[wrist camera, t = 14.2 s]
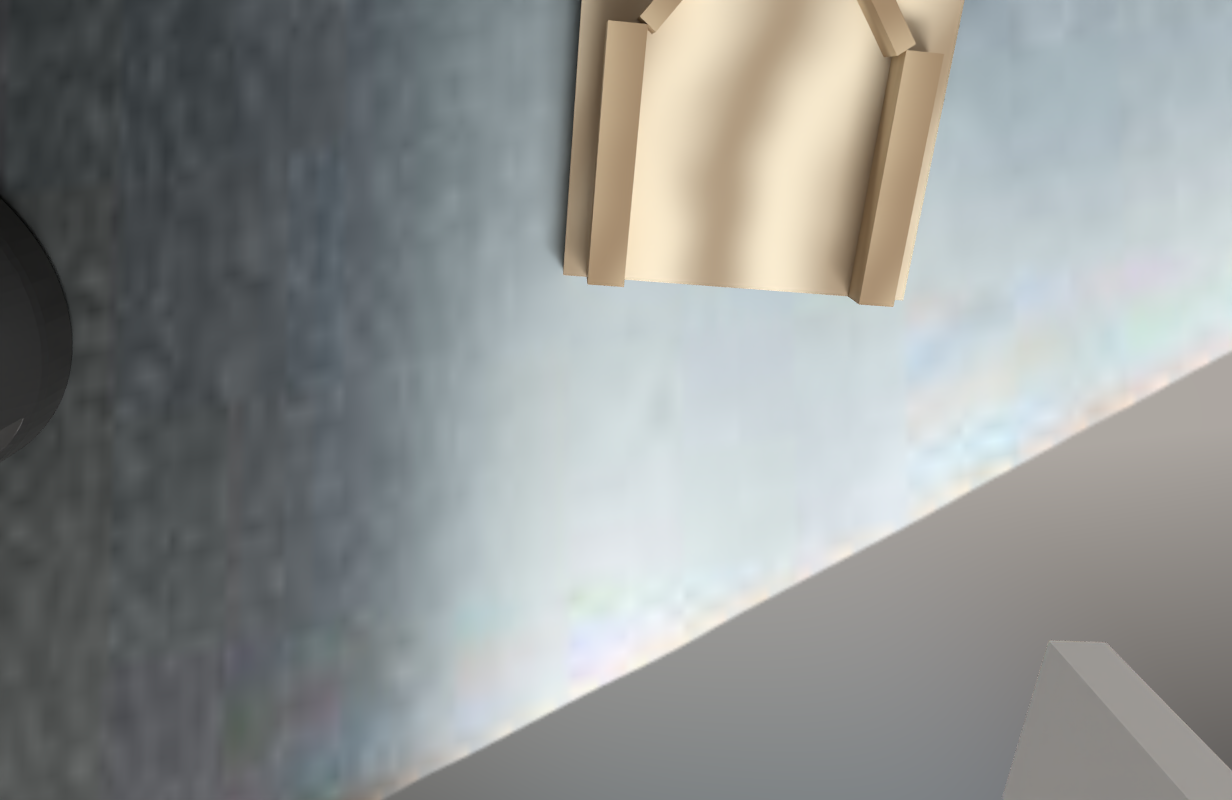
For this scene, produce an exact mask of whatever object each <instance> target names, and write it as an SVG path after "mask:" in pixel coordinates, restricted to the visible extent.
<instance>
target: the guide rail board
mask: <svg viewBox="0 0 1232 800" xmlns="http://www.w3.org/2000/svg"><path fill="white" fill-rule="evenodd" d="M963 4H964V0H581V15H580V30H579V45H578V60H577V74H576V89H575V104H574V119H573V134H572V149H571V163H570V178H569V193H568V208H567V223H566V238H565V252H564V267H563V275H571V276H584V277H587V283H588V284H591V285H604V286H618V287H624V280H638V281H651V282H665V283H678V284H691V285H705V286H718V287H731V288H745V289H758V290H772V291H785V292H798V293H812V294H825V295H838V296H848V297H850V298H851V299H852V300H854V301H855V302H856V303H858V304H861V305H875V306H888V307H893V306H894V301H895V300H903V298H904V293H905V288H906V283H907V278H908V273H909V268H910V263H911V259H912V254H913V249H914V244H915V239H916V234H917V229H918V224H919V219H920V215H921V210H922V205H923V200H924V195H925V190H926V185H927V180H928V175H929V171H930V166H931V161H932V156H933V151H934V146H935V141H936V136H937V132H938V127H939V122H940V117H941V112H942V107H943V102H944V97H945V92H946V88H947V83H948V78H949V73H950V68H951V63H952V58H953V53H954V48H955V44H956V39H957V34H958V29H959V24H960V19H961V14H962V9H963Z"/></svg>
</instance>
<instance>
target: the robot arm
mask: <svg viewBox="0 0 1232 800" xmlns="http://www.w3.org/2000/svg"><path fill="white" fill-rule="evenodd" d="M71 360H72V332H71V324H70V318H69V312H68V308H67V304H66V301H65V298H64V294H63V291H62V288H61V286H60V283H59V281H58V279H57V276H56V274H55V272H54V270H53V268H52V266H51V264H50V262H49V260H48V258H47V257H46V255H45V253H44V251H43V250H42V248H41V247H40V245H39V244H38V242H37V241H36V239H35V238H34V236H33V235H32V234H31V232H30V231H29V230H28V228H27V227H26V226H25V224H24V223H23V222H22V221H21V220H20V219H19V217H18V216H17V215H16V214H15V213H14V212H13V211H12V210H11V209H10V208H9V207H8V206H7V205H6V204H5V203H4V202H3V201H2V200H1V199H0V462H2V461H3V460H5V459H6V458H8V457H9V456H11V455H12V454H14V453H15V452H17V451H18V450H20V449H21V448H23V447H24V446H25V445H26V444H28V443H29V442H30V441H31V440H32V439H33V438H34V437H36V436H37V435H38V434H39V433H40V431H41V430H42V429H43V428H44V427H45V426H46V424H47V423H48V422H49V420H50V419H51V417H52V416H53V414H54V413H55V411H56V409H57V407H58V405H59V403H60V401H61V399H62V397H63V394H64V391H65V389H66V386H67V382H68V378H69V374H70V368H71ZM1002 800H1232V771H1231V770H1230V768H1229V767H1228V766H1226V765H1225V764H1224V762H1223V761H1222V760H1221V759H1220V758H1219V757H1218V756H1217V755H1215V753H1214V752H1213V751H1212V750H1211V749H1210V748H1209V747H1208V746H1207V745H1206V744H1205V743H1204V742H1203V741H1202V740H1201V739H1200V738H1199V737H1198V736H1197V735H1196V734H1195V733H1194V732H1193V731H1192V730H1191V729H1190V728H1189V727H1188V726H1187V725H1186V724H1185V723H1184V722H1183V721H1182V719H1181V718H1180V717H1178V715H1176V713H1175V712H1174V711H1173V710H1172V709H1171V708H1170V707H1169V706H1168V705H1167V704H1166V703H1165V702H1164V701H1163V700H1162V699H1161V698H1160V697H1159V696H1158V695H1157V694H1156V693H1155V692H1154V691H1153V690H1152V689H1151V688H1150V687H1149V686H1148V685H1147V684H1146V683H1145V682H1144V681H1143V680H1142V679H1141V678H1140V677H1139V676H1138V675H1137V673H1136V672H1134V670H1133V669H1132V668H1130V666H1129V665H1128V664H1127V663H1126V662H1125V661H1124V660H1123V659H1122V658H1121V657H1120V656H1119V655H1118V654H1117V653H1116V652H1115V651H1114V650H1113V649H1112V648H1111V647H1110V646H1109V645H1108V644H1107V643H1106V642H1081V641H1051V640H1049V641H1048V645H1047V648H1046V651H1045V655H1044V658H1043V661H1042V665H1041V668H1040V672H1039V675H1038V678H1037V682H1036V685H1035V689H1034V692H1033V695H1032V699H1031V702H1030V705H1029V709H1028V712H1027V716H1026V719H1025V722H1024V726H1023V729H1022V732H1021V736H1020V739H1019V742H1018V746H1017V749H1016V753H1015V756H1014V759H1013V763H1012V766H1011V769H1010V773H1009V776H1008V780H1007V783H1006V786H1005V790H1004V793H1003V796H1002Z"/></svg>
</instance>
